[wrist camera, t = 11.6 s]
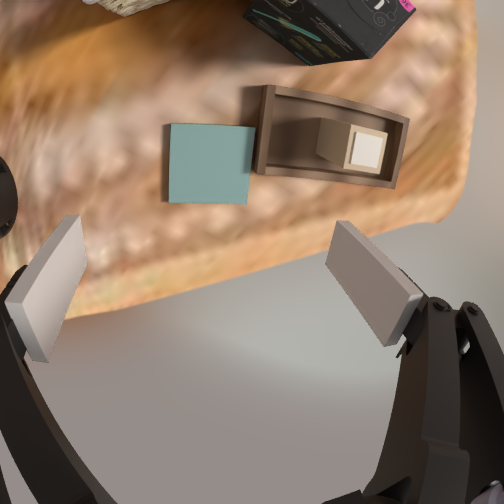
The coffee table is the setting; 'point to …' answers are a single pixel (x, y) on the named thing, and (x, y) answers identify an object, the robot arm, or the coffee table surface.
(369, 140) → the kraft box
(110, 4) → the storage basket
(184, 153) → the teal pad
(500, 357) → the robot arm
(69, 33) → the coffee table surface
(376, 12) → the tampon box
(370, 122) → the walnut bin
